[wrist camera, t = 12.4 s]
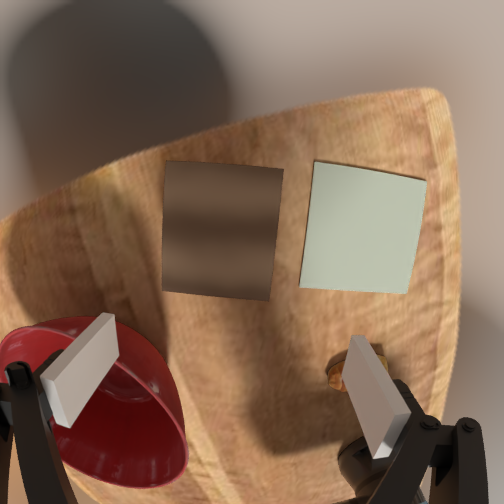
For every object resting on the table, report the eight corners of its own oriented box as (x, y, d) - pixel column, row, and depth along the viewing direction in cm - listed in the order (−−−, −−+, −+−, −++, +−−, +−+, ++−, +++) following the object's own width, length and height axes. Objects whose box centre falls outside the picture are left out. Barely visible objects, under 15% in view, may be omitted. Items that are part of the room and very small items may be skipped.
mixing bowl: (66, 403, 47) (31, 454, 33) (36, 267, 40) (-28, 305, 25) (203, 435, 48) (192, 504, 33) (208, 292, 41) (185, 358, 26)
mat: (405, 292, 41) (406, 293, 40) (299, 286, 40) (299, 287, 40) (426, 181, 36) (427, 181, 36) (314, 161, 36) (314, 161, 36)
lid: (267, 290, 34) (269, 301, 31) (169, 280, 34) (161, 290, 31) (280, 169, 31) (283, 169, 28) (173, 161, 30) (165, 160, 28)
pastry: (325, 389, 45) (329, 405, 41) (327, 356, 44) (332, 370, 40) (379, 382, 45) (386, 395, 41) (385, 348, 43) (394, 361, 40)
